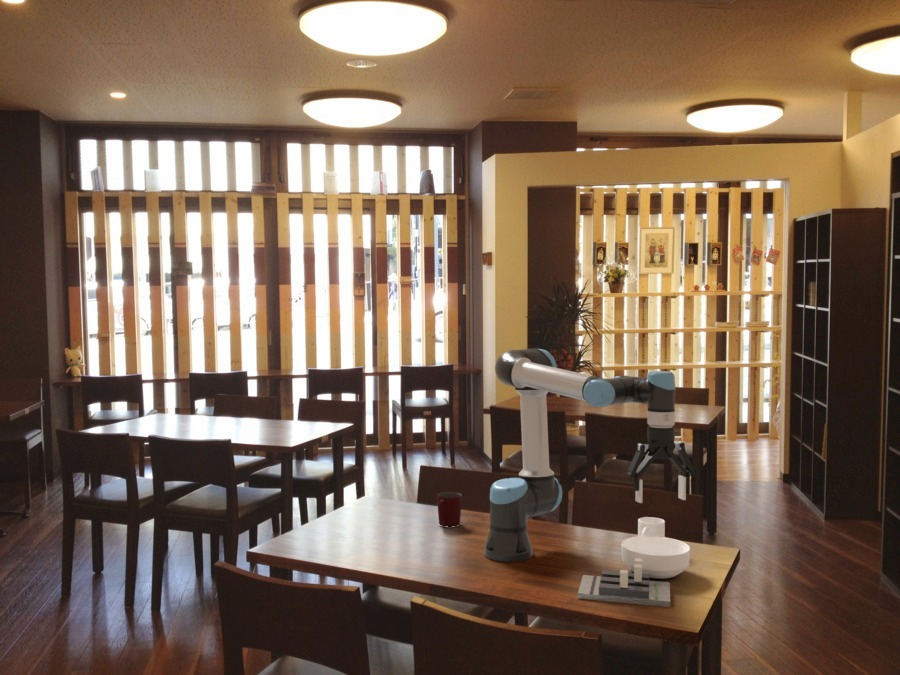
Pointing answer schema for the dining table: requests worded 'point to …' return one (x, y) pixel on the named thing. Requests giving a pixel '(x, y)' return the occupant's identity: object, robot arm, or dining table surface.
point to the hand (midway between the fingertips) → (660, 500)
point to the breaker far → (638, 561)
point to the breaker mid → (637, 573)
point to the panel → (625, 599)
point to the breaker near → (624, 578)
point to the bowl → (656, 555)
